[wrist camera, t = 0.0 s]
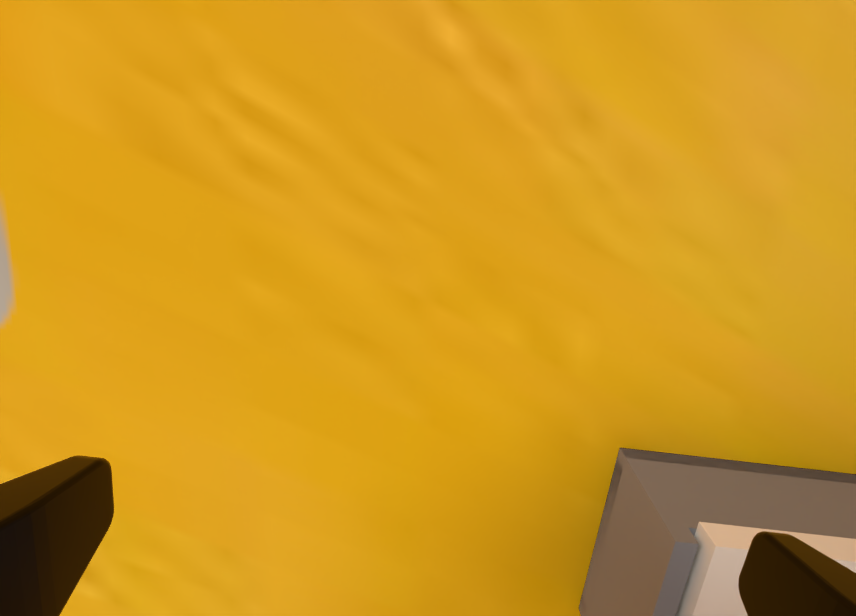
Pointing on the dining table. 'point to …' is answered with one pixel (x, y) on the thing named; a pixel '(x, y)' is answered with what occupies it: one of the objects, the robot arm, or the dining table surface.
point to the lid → (739, 566)
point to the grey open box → (697, 521)
